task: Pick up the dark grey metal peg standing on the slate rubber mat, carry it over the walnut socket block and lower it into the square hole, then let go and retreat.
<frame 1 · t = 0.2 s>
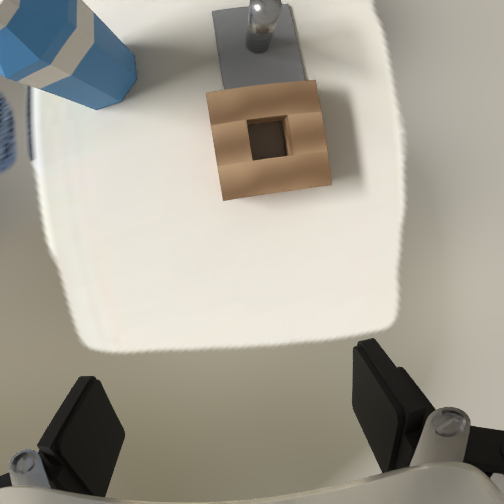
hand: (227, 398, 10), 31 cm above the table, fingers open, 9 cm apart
mat: (257, 44, 34), on the table
water bottle: (105, 77, 34), on the table
peg: (257, 43, 34), resting on mat
socket block: (265, 141, 38), on the table
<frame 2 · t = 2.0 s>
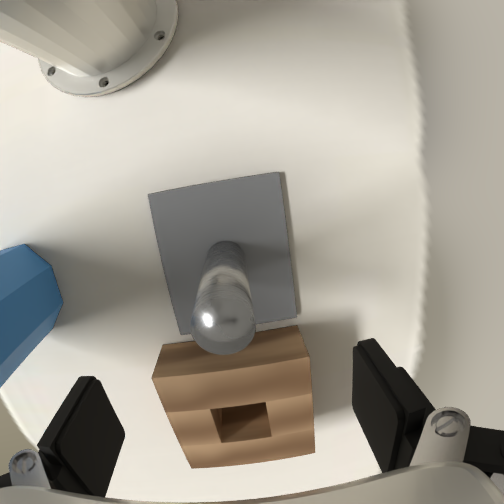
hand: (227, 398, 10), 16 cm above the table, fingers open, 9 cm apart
mat: (225, 258, 26), on the table
water bottle: (25, 289, 25), on the table
peg: (225, 259, 25), resting on mat
socket block: (240, 388, 29), on the table
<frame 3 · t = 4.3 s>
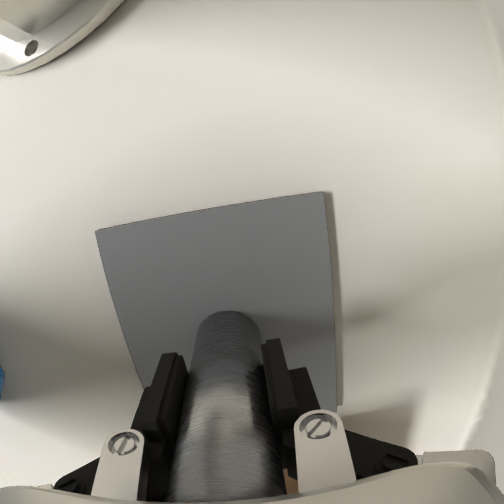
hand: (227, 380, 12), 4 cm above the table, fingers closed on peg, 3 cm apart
mat: (228, 335, 15), on the table
peg: (228, 339, 15), resting on mat, touching gripper
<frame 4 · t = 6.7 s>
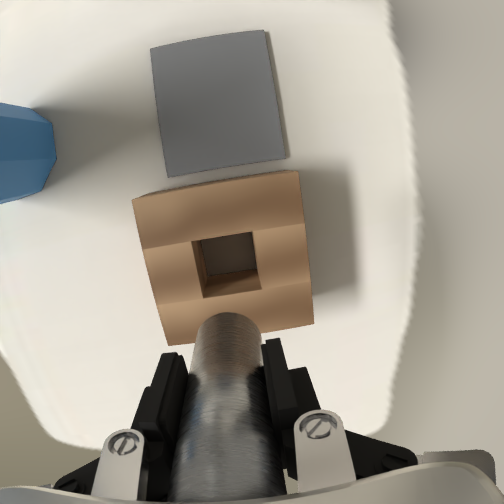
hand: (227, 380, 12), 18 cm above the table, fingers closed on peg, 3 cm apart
mat: (215, 99, 25), on the table
water bottle: (22, 154, 25), on the table
peg: (228, 341, 15), point 15 cm above the table, touching gripper
socket block: (228, 248, 28), on the table
when the fingers open (6 cm above the table, at t = 9.2 s): peg drops 3 cm, resting in socket block.
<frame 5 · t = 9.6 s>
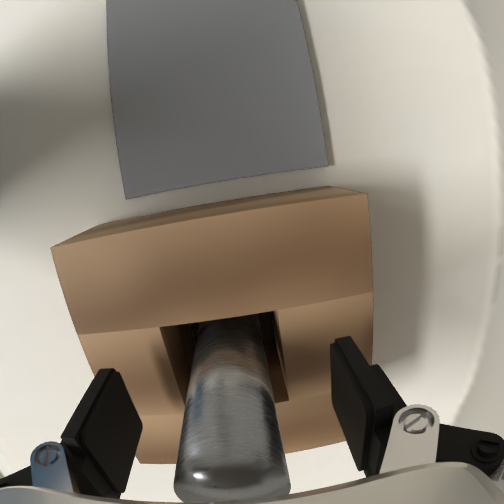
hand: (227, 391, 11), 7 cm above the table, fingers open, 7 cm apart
mat: (207, 64, 14), on the table
peg: (229, 315, 17), resting in socket block
socket block: (229, 315, 17), on the table
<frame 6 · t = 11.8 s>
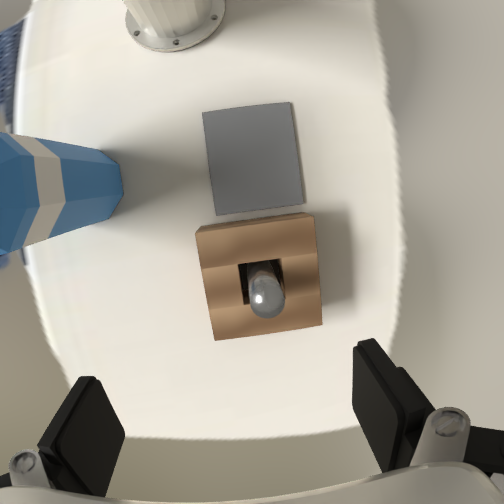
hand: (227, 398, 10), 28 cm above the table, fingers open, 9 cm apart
mat: (252, 157, 36), on the table
water bottle: (90, 187, 36), on the table
peg: (259, 269, 38), resting in socket block
socket block: (259, 269, 38), on the table
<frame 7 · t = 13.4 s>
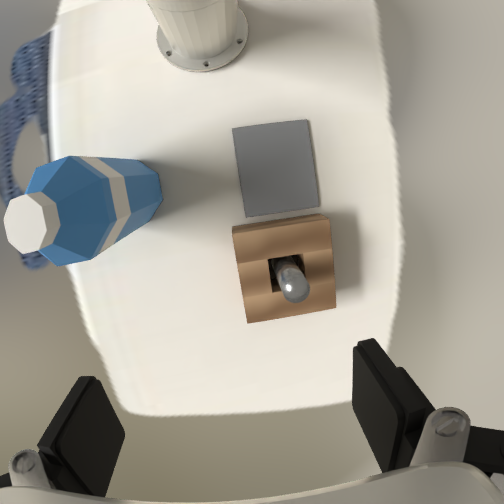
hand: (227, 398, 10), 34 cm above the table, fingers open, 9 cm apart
mat: (276, 167, 42), on the table
water bottle: (131, 193, 42), on the table
peg: (282, 262, 45), resting in socket block
socket block: (282, 262, 45), on the table
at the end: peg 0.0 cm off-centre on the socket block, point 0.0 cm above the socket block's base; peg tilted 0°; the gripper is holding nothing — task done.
